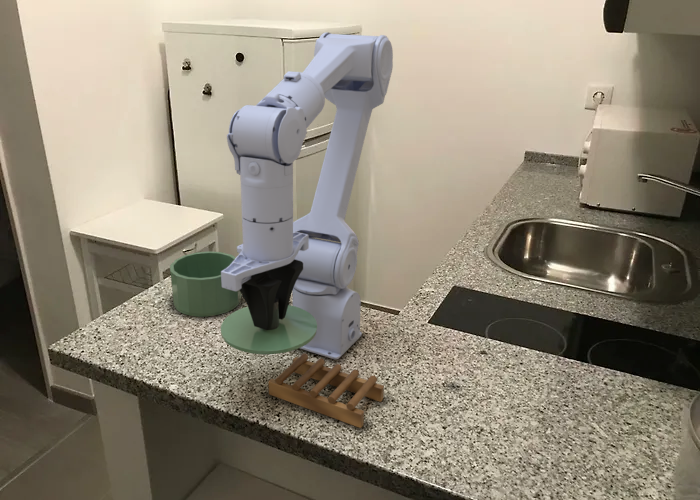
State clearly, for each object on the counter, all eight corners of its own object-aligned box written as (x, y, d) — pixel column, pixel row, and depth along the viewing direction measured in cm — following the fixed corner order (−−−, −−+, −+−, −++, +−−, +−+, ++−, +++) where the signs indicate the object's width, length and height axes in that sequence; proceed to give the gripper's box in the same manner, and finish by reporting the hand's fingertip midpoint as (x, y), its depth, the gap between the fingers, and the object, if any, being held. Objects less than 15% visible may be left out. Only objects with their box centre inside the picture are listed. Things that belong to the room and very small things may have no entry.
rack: (383, 398, 73) (384, 378, 72) (360, 428, 68) (361, 407, 67) (295, 369, 79) (295, 350, 78) (268, 394, 73) (267, 374, 72)
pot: (254, 295, 98) (252, 259, 96) (212, 323, 89) (209, 285, 87) (204, 280, 103) (201, 246, 100) (159, 306, 94) (155, 269, 91)
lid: (334, 325, 74) (335, 292, 72) (282, 370, 64) (281, 333, 62) (259, 303, 78) (258, 271, 77) (200, 341, 69) (198, 306, 67)
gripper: (275, 194, 73) (276, 291, 78) (195, 226, 61) (203, 339, 66) (323, 203, 70) (321, 304, 75) (250, 240, 58) (254, 356, 63)
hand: (269, 321), depth 71 cm, fingers closed on lid, 2 cm apart
